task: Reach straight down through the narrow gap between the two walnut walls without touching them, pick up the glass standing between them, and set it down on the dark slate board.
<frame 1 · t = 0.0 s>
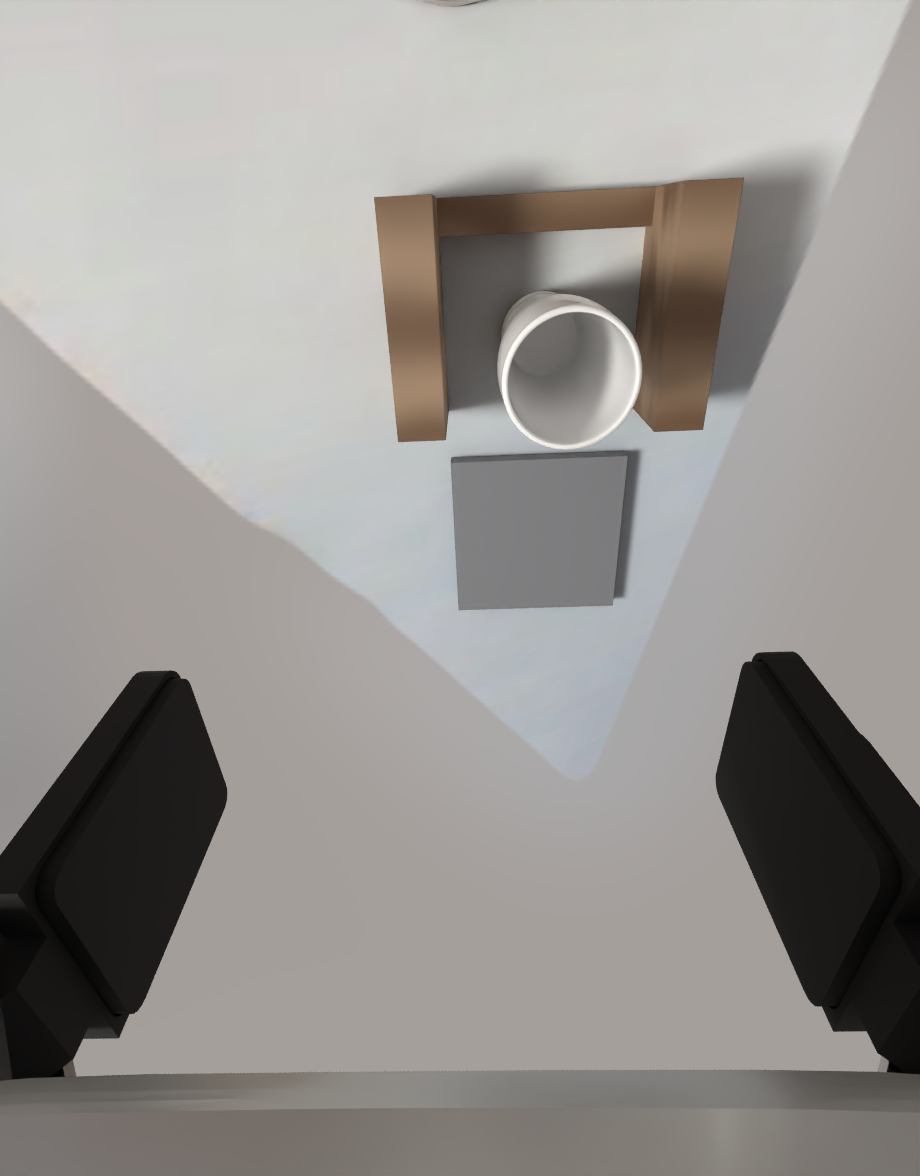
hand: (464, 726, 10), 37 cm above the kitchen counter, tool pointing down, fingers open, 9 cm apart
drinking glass: (539, 332, 42), on the kitchen counter
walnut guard: (539, 333, 41), on the kitchen counter
slate board: (535, 532, 49), on the kitchen counter
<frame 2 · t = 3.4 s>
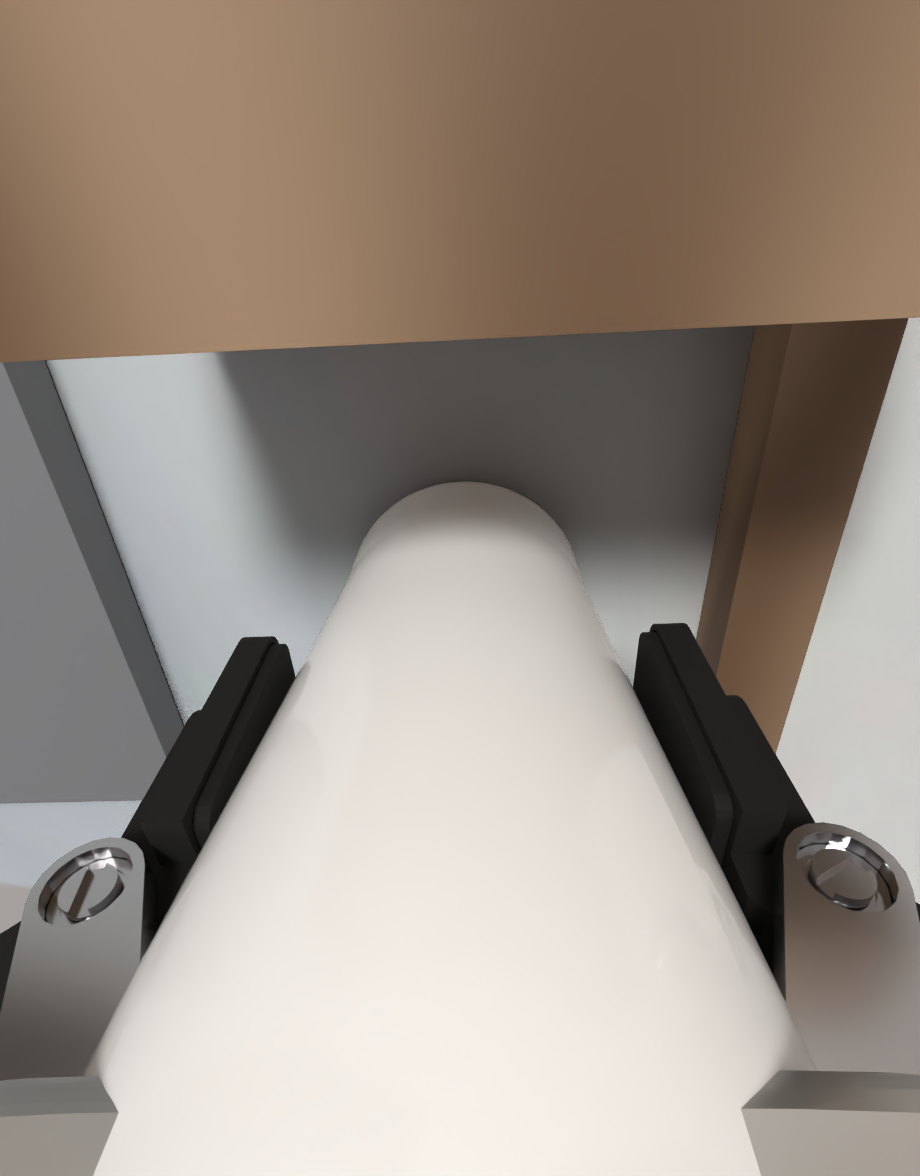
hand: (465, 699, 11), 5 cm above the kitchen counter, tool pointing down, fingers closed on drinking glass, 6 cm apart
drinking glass: (465, 570, 15), on the kitchen counter, touching gripper
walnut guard: (465, 573, 15), on the kitchen counter
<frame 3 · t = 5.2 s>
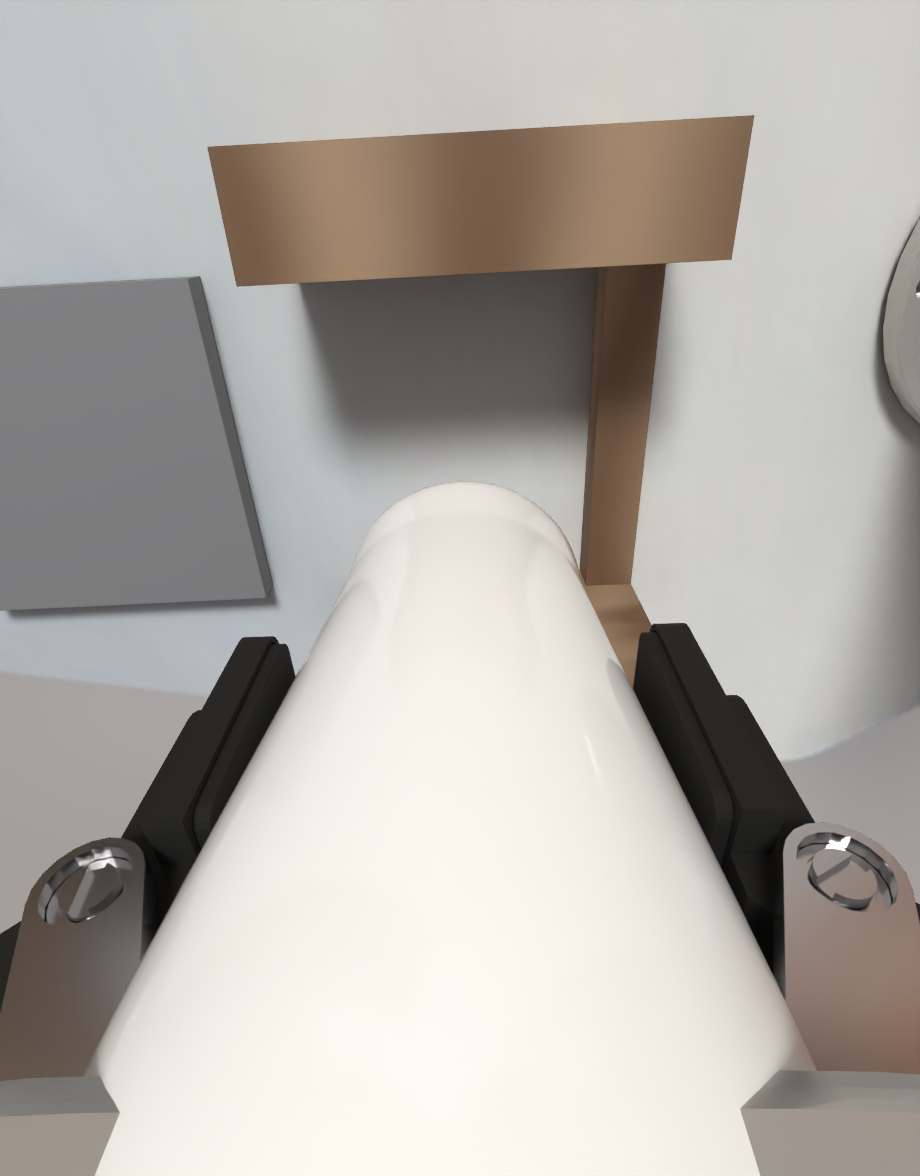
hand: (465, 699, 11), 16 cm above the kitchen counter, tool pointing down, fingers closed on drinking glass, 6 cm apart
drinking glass: (465, 570, 15), point 12 cm above the kitchen counter, touching gripper
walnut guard: (443, 440, 25), on the kitchen counter
slate board: (87, 458, 25), on the kitchen counter
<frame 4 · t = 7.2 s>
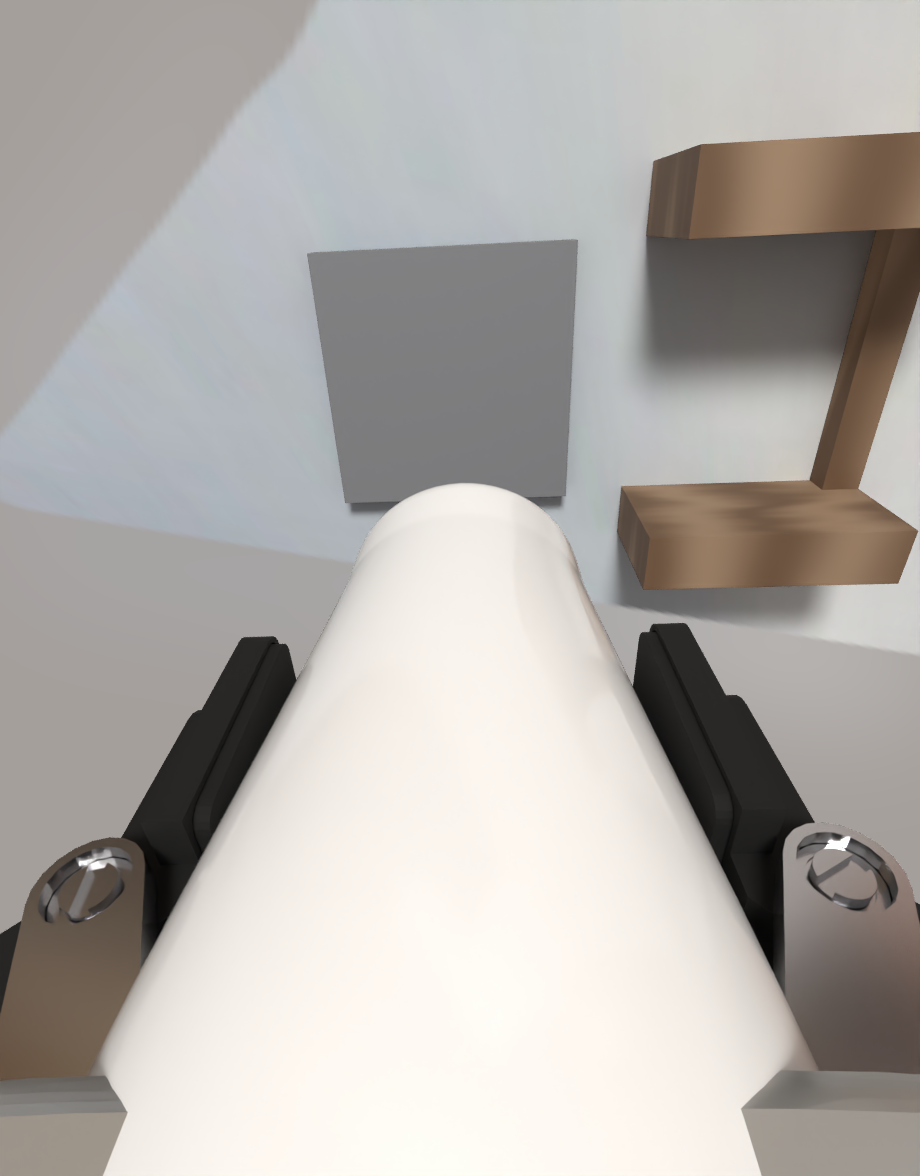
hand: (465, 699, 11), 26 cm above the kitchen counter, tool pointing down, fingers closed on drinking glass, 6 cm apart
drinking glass: (466, 571, 15), point 21 cm above the kitchen counter, touching gripper
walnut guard: (726, 370, 33), on the kitchen counter
slate board: (449, 381, 33), on the kitchen counter
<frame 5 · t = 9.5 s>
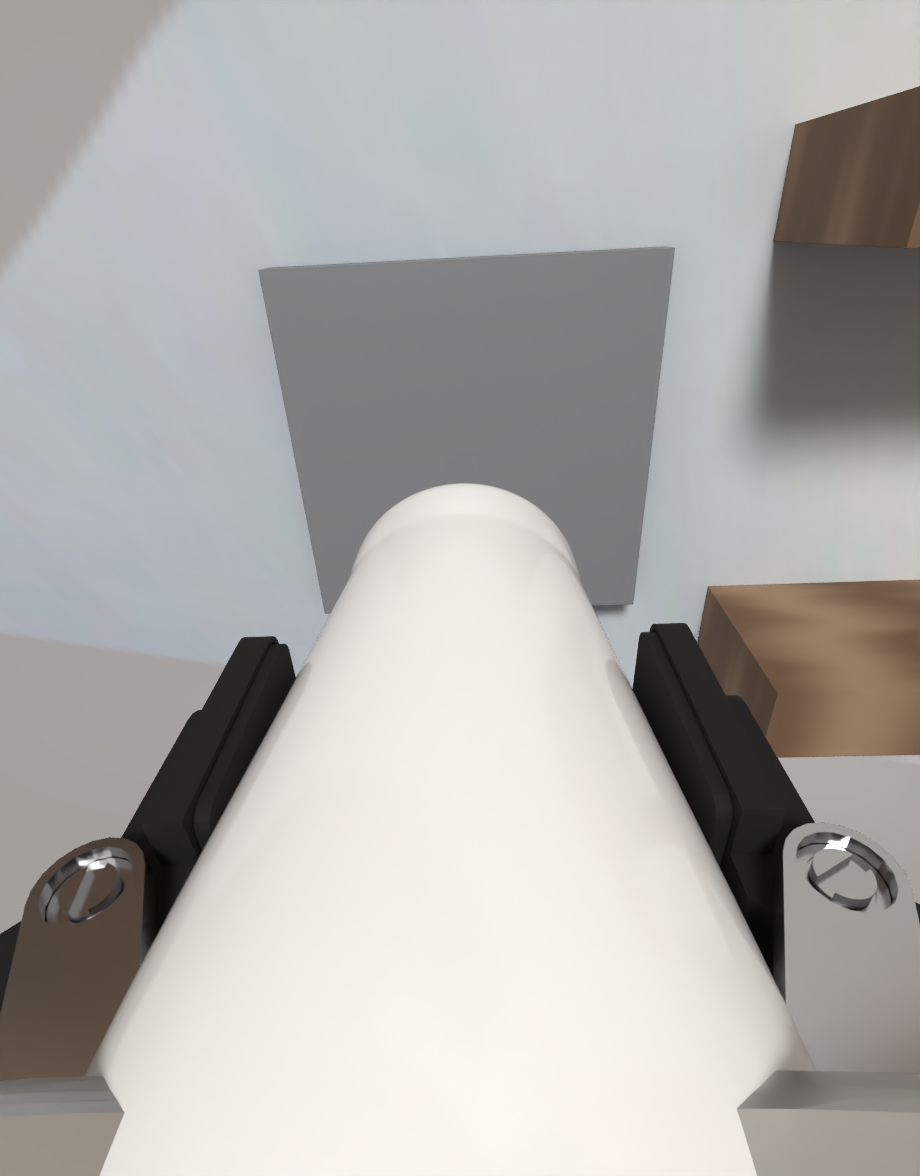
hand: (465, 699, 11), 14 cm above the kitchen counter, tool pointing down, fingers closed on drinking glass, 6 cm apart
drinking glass: (465, 572, 15), point 9 cm above the kitchen counter, touching gripper
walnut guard: (871, 433, 23), on the kitchen counter
slate board: (471, 449, 23), on the kitchen counter
when the fingers open (7 cm above the kitchen counter, at t = 11.4 s): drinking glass drops 1 cm, resting on slate board.
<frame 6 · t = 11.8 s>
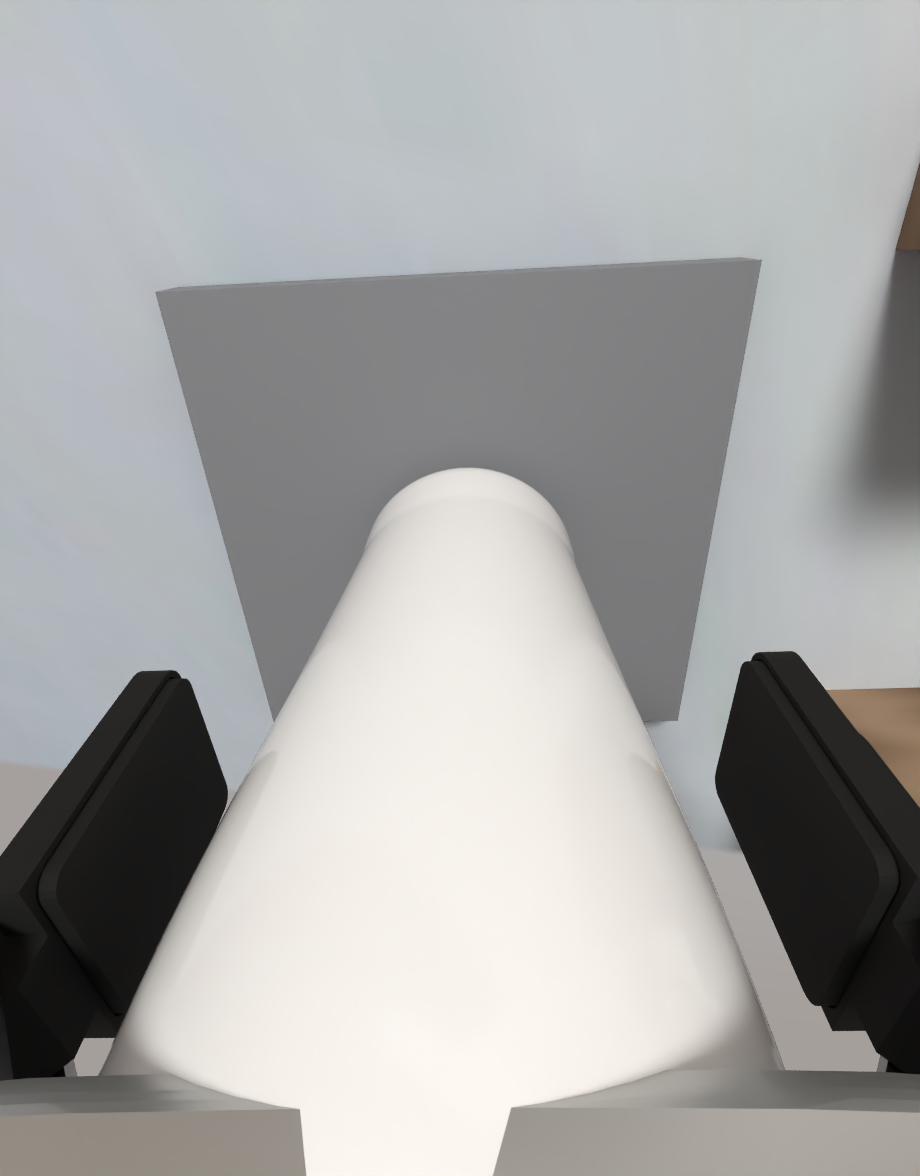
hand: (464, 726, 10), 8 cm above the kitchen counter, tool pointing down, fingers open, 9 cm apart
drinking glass: (469, 549, 16), point 1 cm above the kitchen counter, touching slate board
slate board: (466, 528, 17), on the kitchen counter
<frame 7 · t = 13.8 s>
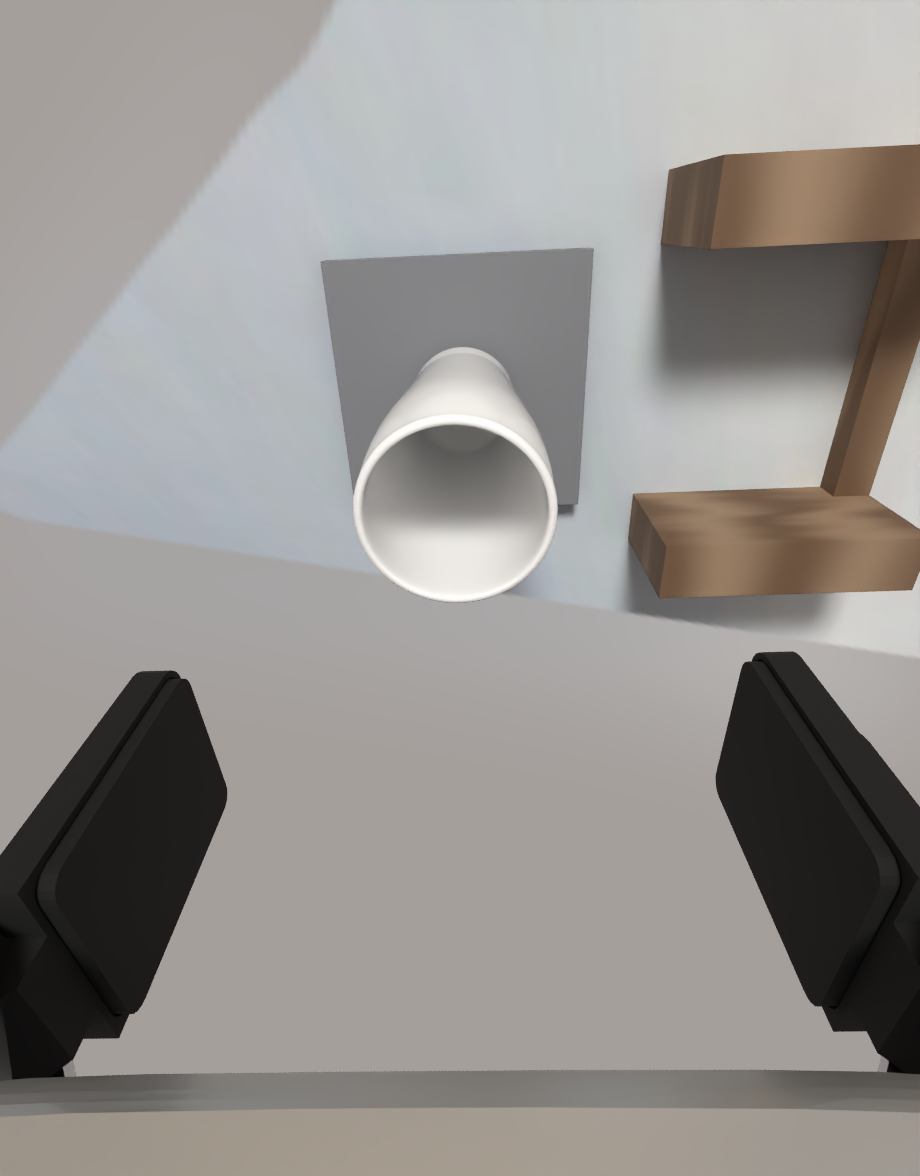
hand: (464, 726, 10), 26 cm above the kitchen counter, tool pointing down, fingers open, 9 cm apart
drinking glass: (463, 396, 32), point 1 cm above the kitchen counter, touching slate board
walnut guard: (738, 377, 33), on the kitchen counter
slate board: (461, 389, 33), on the kitchen counter
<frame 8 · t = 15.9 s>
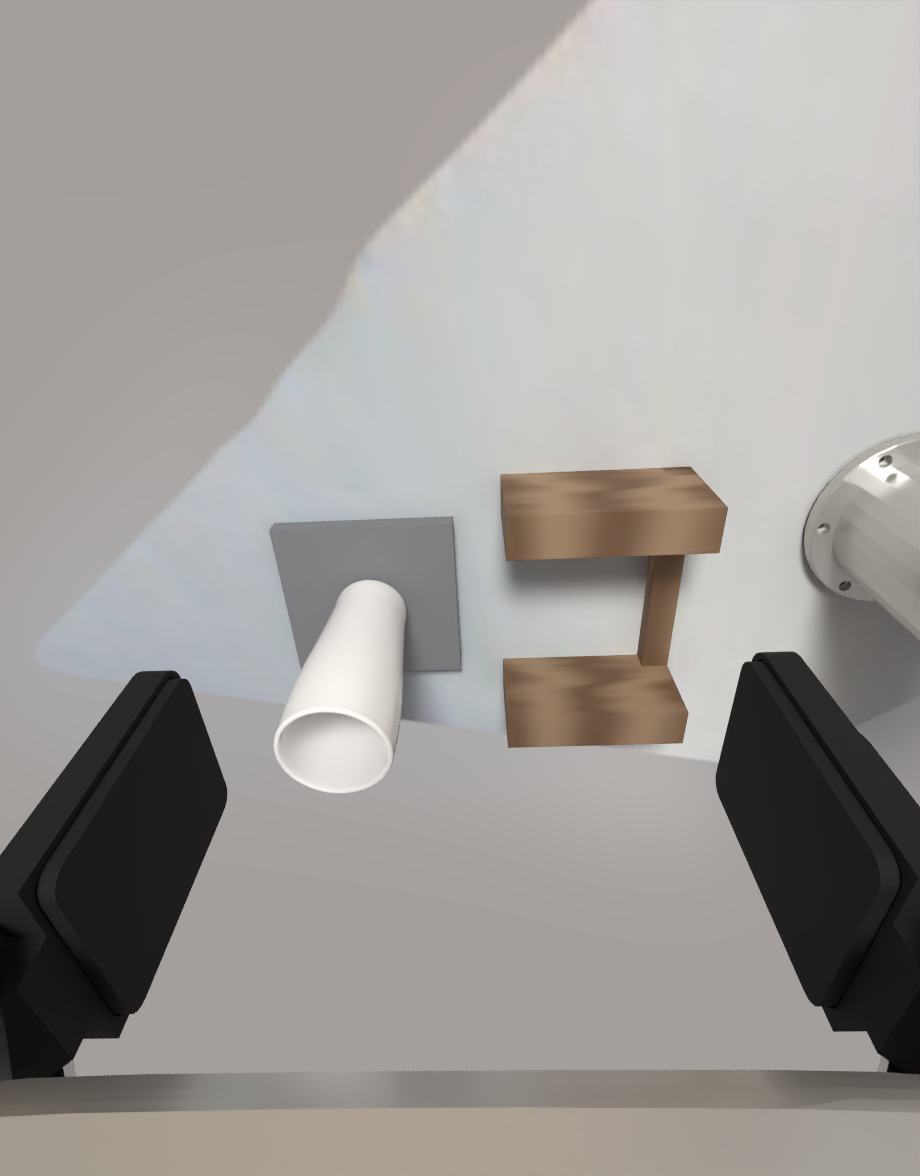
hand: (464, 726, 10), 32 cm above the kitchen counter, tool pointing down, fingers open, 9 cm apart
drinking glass: (373, 605, 46), point 1 cm above the kitchen counter, touching slate board
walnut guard: (567, 589, 47), on the kitchen counter
slate board: (373, 596, 47), on the kitchen counter
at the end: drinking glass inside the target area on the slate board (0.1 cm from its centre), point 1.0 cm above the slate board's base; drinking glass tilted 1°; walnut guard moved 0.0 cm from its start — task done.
